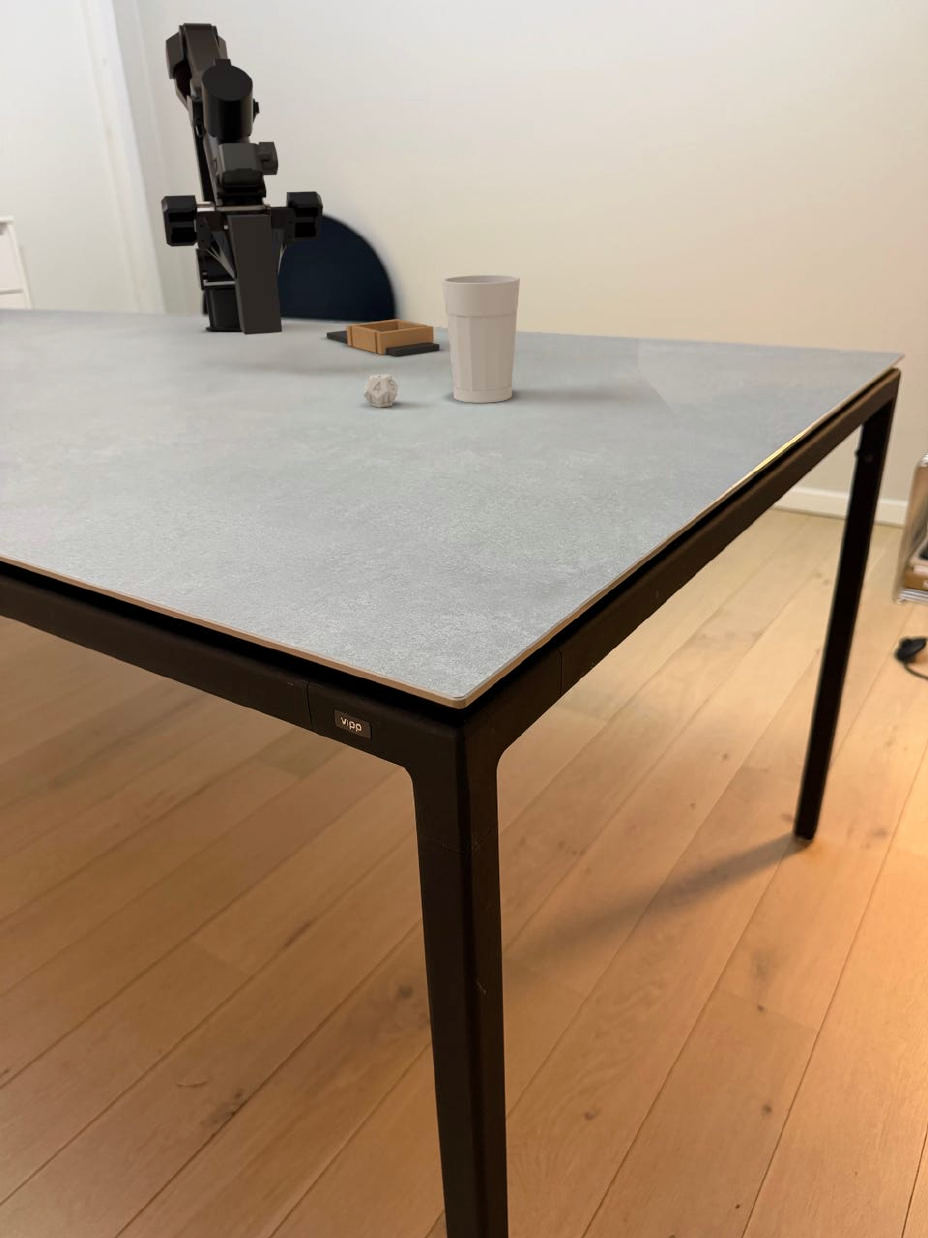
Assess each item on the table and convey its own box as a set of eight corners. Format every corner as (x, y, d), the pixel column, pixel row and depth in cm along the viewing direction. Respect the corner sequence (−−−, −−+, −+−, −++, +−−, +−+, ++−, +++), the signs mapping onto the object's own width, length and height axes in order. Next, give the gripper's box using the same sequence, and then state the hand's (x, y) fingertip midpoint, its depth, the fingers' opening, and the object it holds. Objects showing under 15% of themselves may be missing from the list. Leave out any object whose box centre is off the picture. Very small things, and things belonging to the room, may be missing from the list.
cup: (446, 388, 103) (443, 275, 98) (517, 387, 103) (518, 273, 98) (445, 405, 96) (441, 284, 91) (521, 403, 96) (521, 282, 91)
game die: (401, 401, 98) (400, 372, 97) (394, 409, 95) (392, 380, 94) (369, 400, 99) (367, 372, 98) (361, 408, 96) (359, 379, 94)
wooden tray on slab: (322, 338, 137) (320, 319, 135) (371, 332, 141) (370, 313, 140) (390, 357, 122) (389, 335, 121) (444, 349, 126) (443, 328, 125)
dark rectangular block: (240, 329, 114) (226, 215, 108) (276, 326, 115) (264, 213, 110) (244, 334, 110) (230, 216, 104) (282, 332, 112) (270, 215, 106)
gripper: (147, 116, 103) (169, 228, 99) (312, 115, 108) (340, 221, 104) (156, 192, 113) (176, 297, 109) (306, 188, 119) (331, 287, 114)
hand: (256, 274), depth 109 cm, fingers closed on dark rectangular block, 4 cm apart
